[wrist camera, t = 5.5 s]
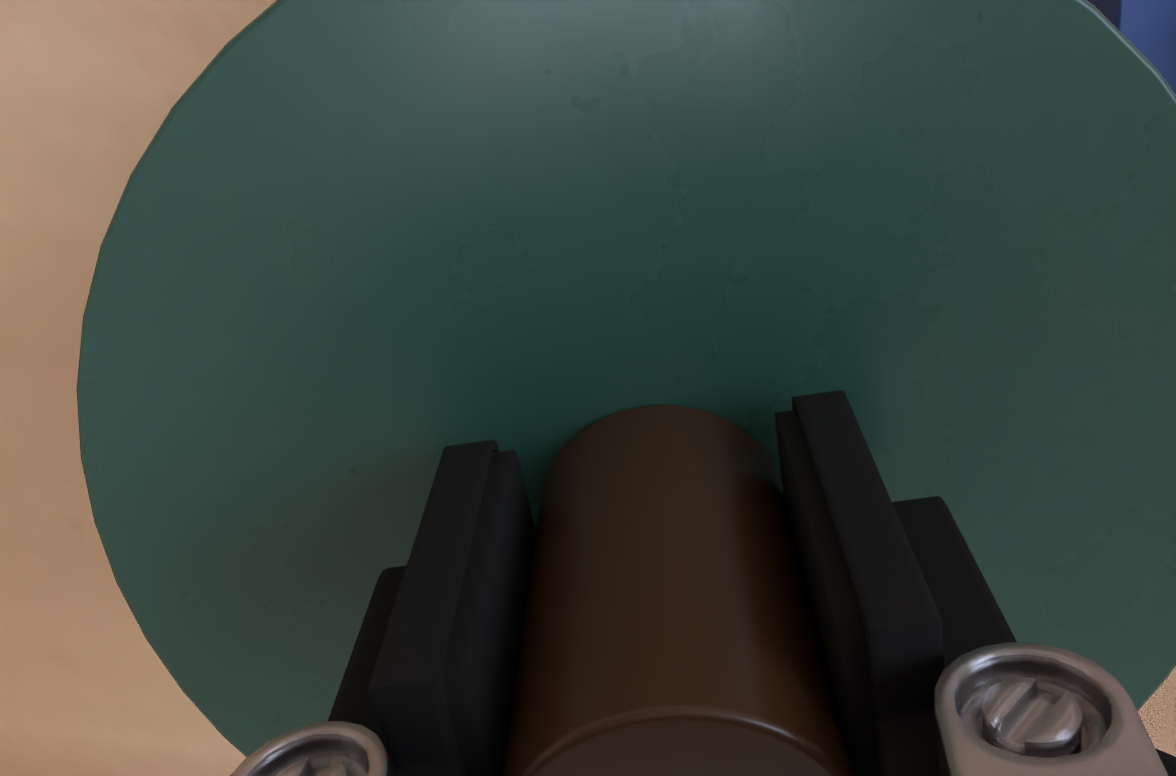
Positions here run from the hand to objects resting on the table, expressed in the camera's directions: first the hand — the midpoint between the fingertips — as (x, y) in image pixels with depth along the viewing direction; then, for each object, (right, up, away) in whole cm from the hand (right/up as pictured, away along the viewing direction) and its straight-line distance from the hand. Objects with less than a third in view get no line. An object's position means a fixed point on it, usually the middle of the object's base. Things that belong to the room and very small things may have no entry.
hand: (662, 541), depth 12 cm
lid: (0, 0, +1) cm, 1 cm away
